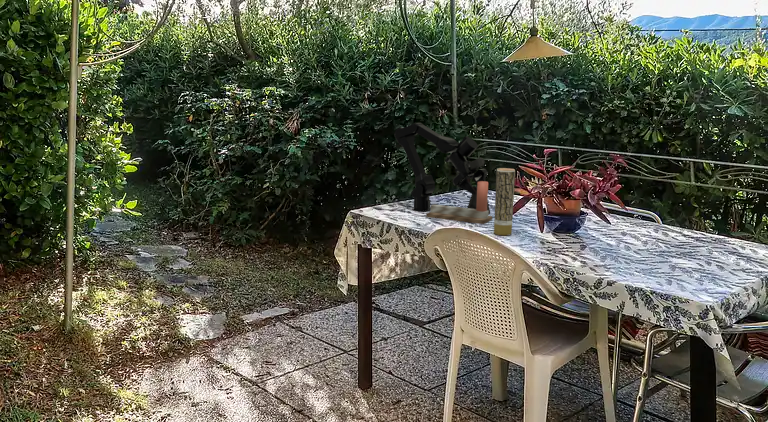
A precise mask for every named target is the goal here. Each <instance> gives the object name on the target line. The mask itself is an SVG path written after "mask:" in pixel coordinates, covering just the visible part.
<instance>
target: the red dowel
mask: <svg viewBox="0 0 768 422" xmlns="http://www.w3.org/2000/svg"><path fill="white" fill-rule="evenodd" d="M476 185H477V206H476V211H481V212H484V211H487V199H488V198H489V197H488V196H489V195H488V194H489V191H488V190H489V182H488V181H478V183H477V184H476Z"/></svg>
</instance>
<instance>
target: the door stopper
mask: <svg viewBox="0 0 768 422" xmlns="http://www.w3.org/2000/svg"><path fill="white" fill-rule="evenodd" d="M473 188H474V190H475V192H476V194H475V195H473V194H472V193H471V196H470V199H469V201H468V205H467V207H466V208H470V209H476V206H477V186H473ZM487 210H488V211H489V213H488V215H489V214H491V210H490V205H489V200H488V199H487Z"/></svg>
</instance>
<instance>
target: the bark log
mask: <svg viewBox="0 0 768 422" xmlns="http://www.w3.org/2000/svg"><path fill="white" fill-rule="evenodd" d="M495 178H496V179H495V199H494V201H495V202H494V221H493V233H494V235H498V236H504V237H505V236H511V235H512V233H513V232H512V231H513V220H514V219H513V218H514V217H513V216H514V215H513V214H514V198H515V181H516V179H515V178H516V170H515V169H514V168H509V167H508V168H506V167H499V168H496V177H495Z"/></svg>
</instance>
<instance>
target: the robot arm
mask: <svg viewBox="0 0 768 422" xmlns="http://www.w3.org/2000/svg"><path fill="white" fill-rule="evenodd" d="M395 129H396V128H395ZM417 135H419V136H421V137H422V138H424V139H426V140H427V141H428V142H431V143H432V144H434V145H435V147H436V149H437V150H438V151H440V152H441V153H442V154H449V153H450V154H449V155H446V157H445V163H451V164H452V165H453V167H454V168H455V170H454V171H455V173H458V174H456V176H455V177H454V178H453V179H452V184H453V185H454V186H455V187H457V188H460V189H463V190H464V191H466V192H468V193H469V194H471V195H472V194H473V195H475V194H476V192H475V190H474V188H473V187H474V186H473V185H472V183H471V180H472V181H473V182H474V184H476V185H477V183H478V181H486V179H487V176H488V173H489V171H488V170H487V169H486V168H481V167H485V163H486V161H485V160H484V158H482V157H478V158H476V159H474V160H472V161H471V160H467V159H466V157H467V158H468V157H470V156H471V155H472V154H473V152H474V151H476V149H478V147H479V146H478V144H477V142H476V141H475V140H473V138H470V137H469V136H464V137H463V138H462V140H460V142H458V141H457V140H456V139H454V138H451V137H449V136H443V135H442V134H439V133H437V131H434V130H432V129H431V128H429V127H428V126H426V125H424V124H423V123H422V122H413V123H412V124H410V125H407V126H404V127H397V129H396V130H395V131H394V138H395V139H396V141H397V143H398V144H399V145H400V147H402V148H403V150H404V152H405V155H406V158H407V159H408V162H409V164H410V167H411V169H412V172H413V175H414V178H415V179H414V186H415V188H413V189H412V190H411V192H410V194H411V197H412V198H413V208H412V211H416V212H427V211H431V199H430V197H432V195H433V193H434V191H435V188H436V181H435V180H434V177H433V175H432V174H428V173H427V172H426V170H425V168H424V166H423V163H422V160H421V158H420V155H419V154H418V151H417V148H416V146H415V139H416V138H415V136H417ZM479 168H480V169H479ZM486 182H487V181H486ZM488 192H490V191H489V189H488Z"/></svg>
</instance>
